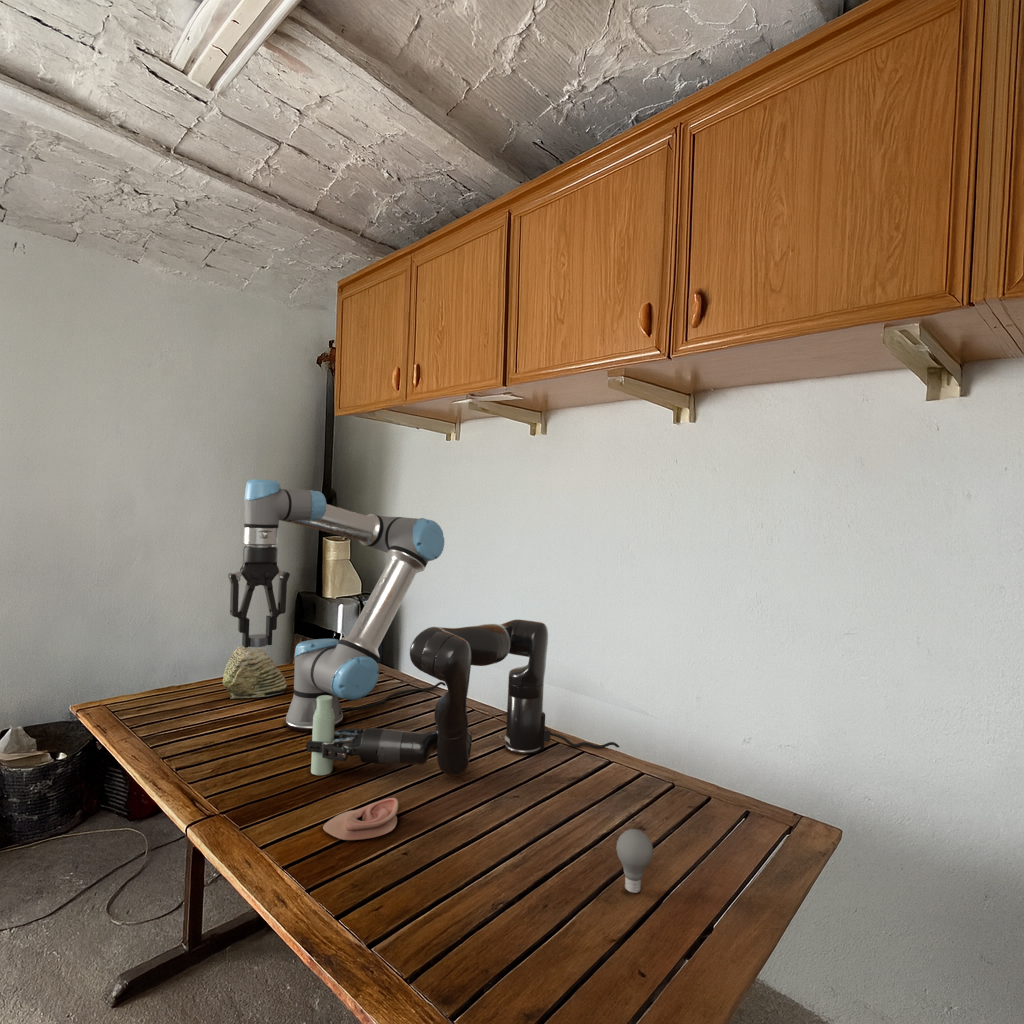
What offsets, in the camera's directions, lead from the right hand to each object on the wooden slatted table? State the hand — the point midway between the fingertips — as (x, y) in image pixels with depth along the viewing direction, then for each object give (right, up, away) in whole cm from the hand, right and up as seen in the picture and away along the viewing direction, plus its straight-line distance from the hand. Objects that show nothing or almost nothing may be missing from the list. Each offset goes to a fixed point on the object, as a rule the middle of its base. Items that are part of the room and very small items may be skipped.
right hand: (311, 741), depth 146 cm
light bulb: (+66, -10, -41) cm, 78 cm away
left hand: (-13, +22, +2) cm, 26 cm away
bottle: (+2, -7, 0) cm, 7 cm away
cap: (-13, +24, +2) cm, 27 cm away
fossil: (-34, -4, +52) cm, 62 cm away
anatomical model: (+17, -8, -24) cm, 30 cm away
